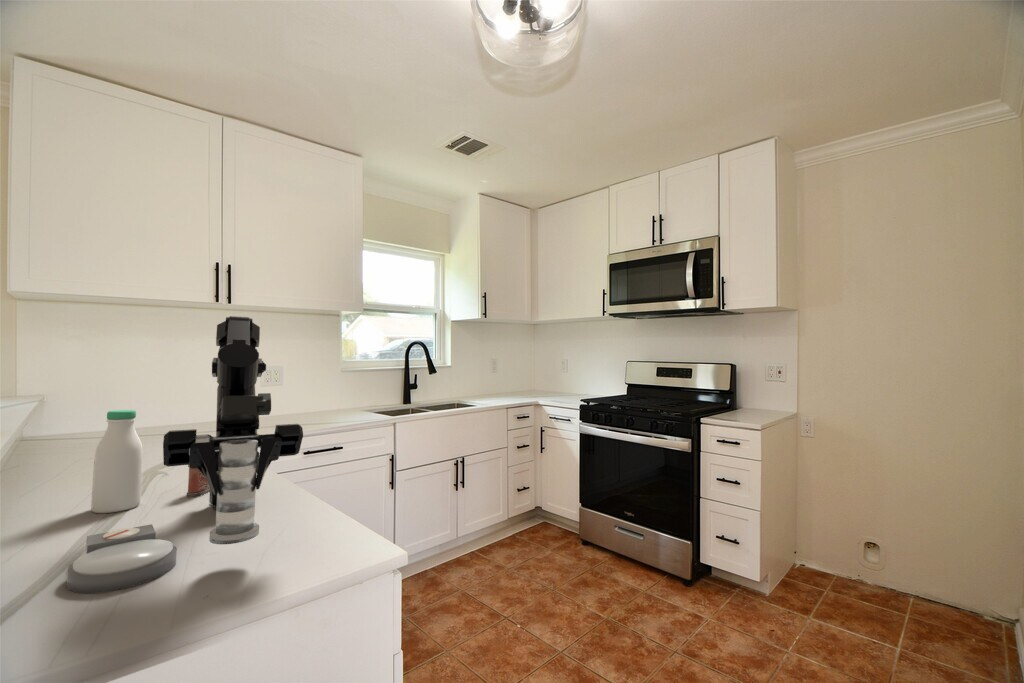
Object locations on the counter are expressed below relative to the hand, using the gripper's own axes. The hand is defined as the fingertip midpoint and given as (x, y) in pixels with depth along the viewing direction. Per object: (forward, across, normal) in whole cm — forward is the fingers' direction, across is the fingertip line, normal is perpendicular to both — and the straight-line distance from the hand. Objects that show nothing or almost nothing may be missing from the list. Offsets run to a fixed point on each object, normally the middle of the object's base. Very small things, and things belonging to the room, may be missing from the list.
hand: (237, 490), depth 68 cm
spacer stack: (+4, 0, +6) cm, 7 cm away
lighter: (-26, -4, +43) cm, 51 cm away
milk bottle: (-23, -19, +40) cm, 50 cm away
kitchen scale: (+2, -14, +15) cm, 20 cm away
